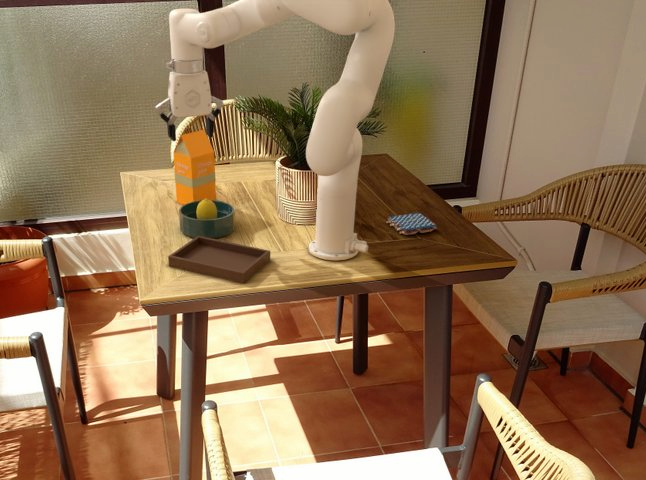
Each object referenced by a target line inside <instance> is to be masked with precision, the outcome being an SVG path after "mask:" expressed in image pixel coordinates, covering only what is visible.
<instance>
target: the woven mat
mask: <svg viewBox="0 0 646 480" xmlns="http://www.w3.org/2000/svg"><path fill="white" fill-rule="evenodd" d="M432 221H433V220H430V219H429V218H427V216H424V215H423V214H422V213H420V212H414V213H411V212H410V213H408V214H406V213H404V214H399V215H396V214H394V215H393V216H391V215H388V218H387V221H386V224H389V226H390V227H394V229H395V230H396V231H398V232H399V234H402V235H403V236H411V235H415V234H417V233H420V234H424V233H429V232H433V231H436V230H437V229H438V228H437V226H438V225H437V224H436V223H435V222H432Z"/></svg>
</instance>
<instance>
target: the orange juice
mask: <svg viewBox="0 0 646 480" xmlns="http://www.w3.org/2000/svg"><path fill="white" fill-rule="evenodd" d="M172 152H173V167H174V168H173V169H174V184H175V193H176V194H175V195H176V203H178V204H181V205H182V206H183V205H184V204H187V203H190V202H193V201H199V200H205V199H208V200H217V191H216V190H217V189H216V188H217V186H216V164H215V163H216V162H215V161H216V159H215V150H214V148H213V146H212V143H211V142H210V139H209V136H208V135H207V134H206V129H205V128H203V129H200V130H199V129H198V130H196V131H192V132H187V133H182V134H180V136H179V138H178V141H177V143H176V146H175V147H174V150H173V151H172Z"/></svg>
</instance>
